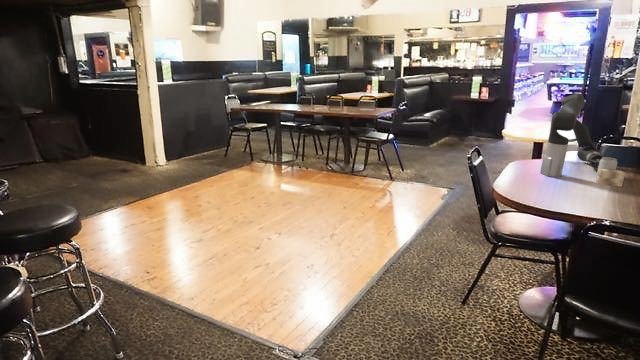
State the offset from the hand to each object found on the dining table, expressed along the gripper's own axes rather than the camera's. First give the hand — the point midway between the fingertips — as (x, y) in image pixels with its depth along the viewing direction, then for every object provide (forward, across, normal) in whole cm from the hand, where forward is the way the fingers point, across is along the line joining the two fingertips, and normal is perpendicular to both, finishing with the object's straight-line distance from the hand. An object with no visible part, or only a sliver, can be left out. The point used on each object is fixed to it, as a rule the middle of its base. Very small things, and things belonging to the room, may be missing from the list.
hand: (604, 167), depth 217 cm
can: (+5, 0, +6) cm, 8 cm away
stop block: (+11, 0, +6) cm, 13 cm away
